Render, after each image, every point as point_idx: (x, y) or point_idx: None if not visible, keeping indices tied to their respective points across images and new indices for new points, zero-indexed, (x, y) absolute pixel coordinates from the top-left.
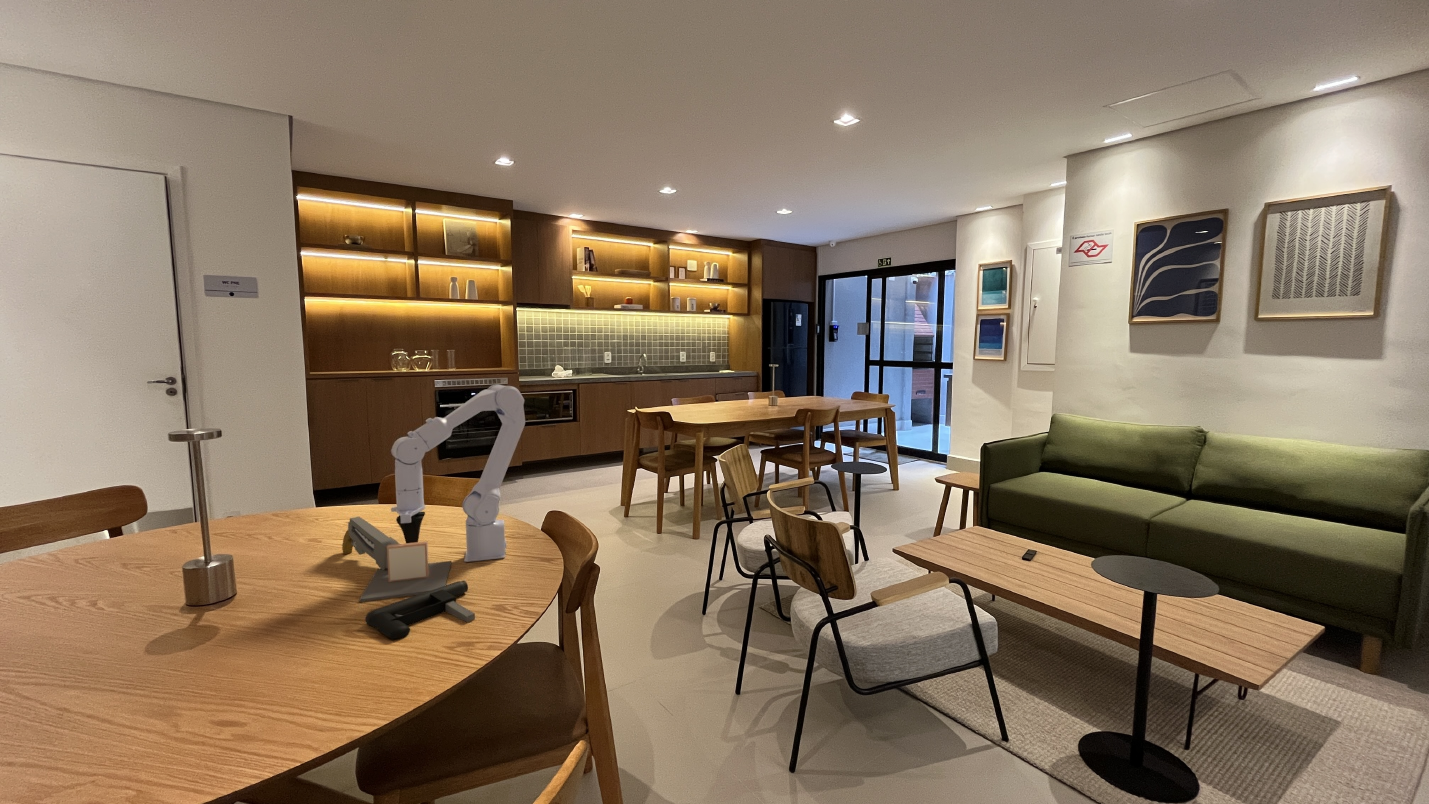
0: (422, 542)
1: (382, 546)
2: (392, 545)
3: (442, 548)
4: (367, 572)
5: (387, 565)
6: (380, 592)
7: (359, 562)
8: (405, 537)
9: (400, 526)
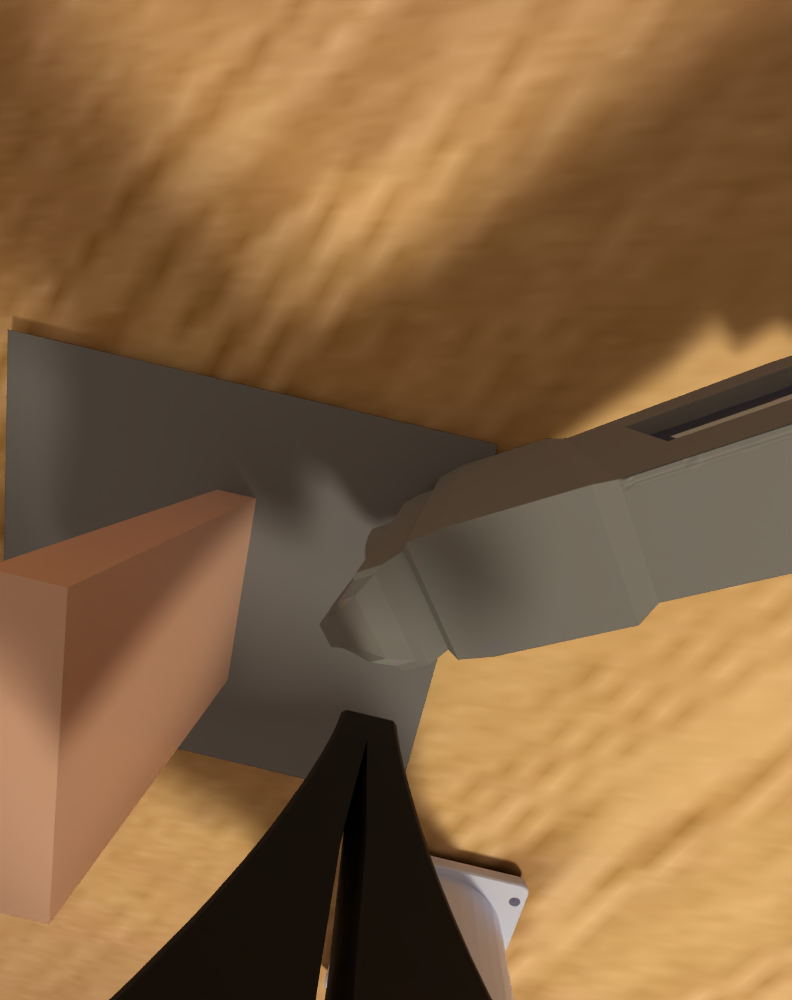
0: (24, 885)
1: (464, 513)
2: (35, 628)
3: (691, 794)
4: (513, 385)
5: (408, 505)
6: (70, 439)
7: (770, 339)
8: (307, 779)
9: (157, 956)
